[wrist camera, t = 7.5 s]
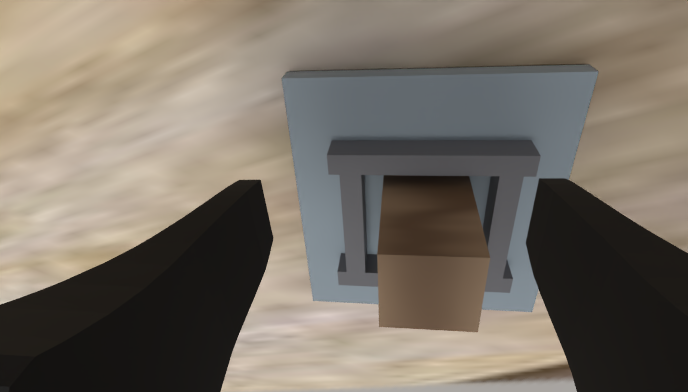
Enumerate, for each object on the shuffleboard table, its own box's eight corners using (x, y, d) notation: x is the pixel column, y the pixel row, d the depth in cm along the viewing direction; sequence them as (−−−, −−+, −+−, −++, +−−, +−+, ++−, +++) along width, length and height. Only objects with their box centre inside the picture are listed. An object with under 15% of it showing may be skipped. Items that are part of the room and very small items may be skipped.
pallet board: (589, 64, 17) (614, 83, 15) (527, 299, 25) (538, 333, 23) (287, 71, 19) (272, 89, 17) (316, 288, 27) (308, 319, 25)
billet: (468, 173, 20) (490, 258, 15) (460, 238, 22) (477, 332, 17) (383, 172, 20) (377, 254, 15) (384, 237, 22) (379, 326, 17)
